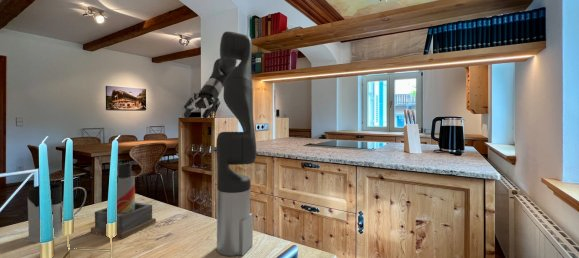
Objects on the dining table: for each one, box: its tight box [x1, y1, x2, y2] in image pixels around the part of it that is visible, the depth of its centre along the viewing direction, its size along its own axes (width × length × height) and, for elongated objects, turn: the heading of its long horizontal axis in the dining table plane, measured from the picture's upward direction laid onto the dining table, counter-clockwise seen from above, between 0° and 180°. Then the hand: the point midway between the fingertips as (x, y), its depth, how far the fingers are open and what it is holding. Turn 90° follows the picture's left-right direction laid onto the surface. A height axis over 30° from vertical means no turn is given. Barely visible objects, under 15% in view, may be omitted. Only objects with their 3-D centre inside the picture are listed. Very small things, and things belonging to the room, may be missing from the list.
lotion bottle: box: [117, 162, 136, 215], centre depth 88 cm, size 6×6×20 cm
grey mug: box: [26, 183, 87, 243], centre depth 83 cm, size 9×14×15 cm, turn 130°
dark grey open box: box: [90, 201, 157, 240], centre depth 88 cm, size 13×13×6 cm
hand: (194, 117), depth 105 cm, fingers open, 8 cm apart
